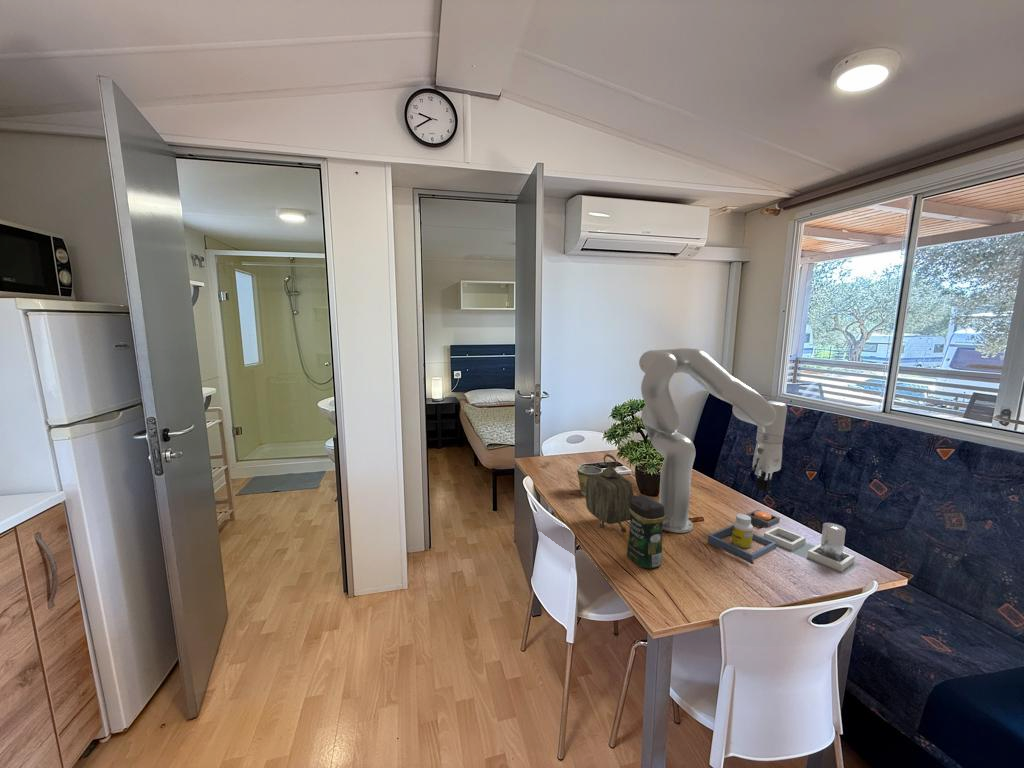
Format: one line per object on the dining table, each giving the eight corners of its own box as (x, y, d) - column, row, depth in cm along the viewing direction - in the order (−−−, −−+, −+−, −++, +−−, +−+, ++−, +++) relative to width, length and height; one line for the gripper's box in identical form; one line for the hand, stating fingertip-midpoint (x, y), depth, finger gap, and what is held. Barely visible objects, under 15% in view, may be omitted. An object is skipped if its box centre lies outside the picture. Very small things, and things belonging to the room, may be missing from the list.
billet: (837, 567, 110) (841, 532, 109) (816, 558, 114) (819, 525, 113) (844, 561, 112) (848, 528, 111) (823, 553, 117) (827, 521, 115)
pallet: (843, 577, 107) (845, 567, 106) (758, 541, 125) (759, 532, 125) (859, 566, 112) (860, 556, 111) (774, 533, 130) (775, 524, 130)
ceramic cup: (588, 500, 156) (589, 475, 154) (571, 491, 164) (572, 468, 163) (611, 493, 162) (612, 469, 161) (594, 485, 171) (595, 462, 169)
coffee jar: (622, 554, 117) (624, 494, 115) (644, 549, 120) (647, 490, 118) (643, 572, 108) (646, 507, 106) (666, 567, 111) (670, 503, 109)
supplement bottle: (727, 542, 125) (729, 512, 123) (743, 541, 125) (746, 512, 124) (738, 551, 119) (741, 520, 118) (755, 551, 120) (758, 520, 118)
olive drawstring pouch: (631, 534, 129) (635, 460, 126) (608, 540, 125) (611, 463, 122) (604, 515, 142) (607, 448, 139) (583, 520, 139) (585, 450, 135)
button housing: (767, 530, 133) (768, 523, 132) (745, 521, 139) (745, 514, 139) (779, 524, 136) (779, 517, 136) (756, 516, 143) (757, 509, 142)
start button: (766, 523, 134) (766, 518, 134) (751, 517, 138) (751, 513, 138) (774, 519, 137) (774, 515, 136) (758, 514, 141) (759, 509, 141)
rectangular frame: (751, 563, 113) (752, 555, 113) (707, 542, 124) (708, 534, 124) (775, 550, 120) (776, 543, 119) (732, 531, 131) (732, 524, 131)
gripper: (769, 443, 127) (762, 497, 129) (792, 438, 134) (785, 490, 137) (746, 437, 133) (739, 489, 135) (769, 433, 141) (762, 482, 143)
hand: (762, 489), depth 136 cm, fingers closed
